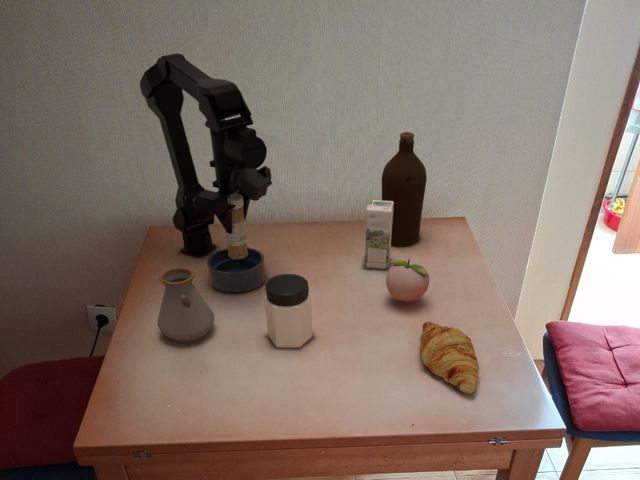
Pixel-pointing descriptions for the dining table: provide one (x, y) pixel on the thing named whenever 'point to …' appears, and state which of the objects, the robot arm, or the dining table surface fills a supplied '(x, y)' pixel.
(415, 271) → the decorative fruit
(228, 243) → the sprinkles bottle
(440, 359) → the croissant
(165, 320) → the coffee pot
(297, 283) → the jar
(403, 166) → the olive oil
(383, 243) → the syrup box
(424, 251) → the dining table surface
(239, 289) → the bowl
